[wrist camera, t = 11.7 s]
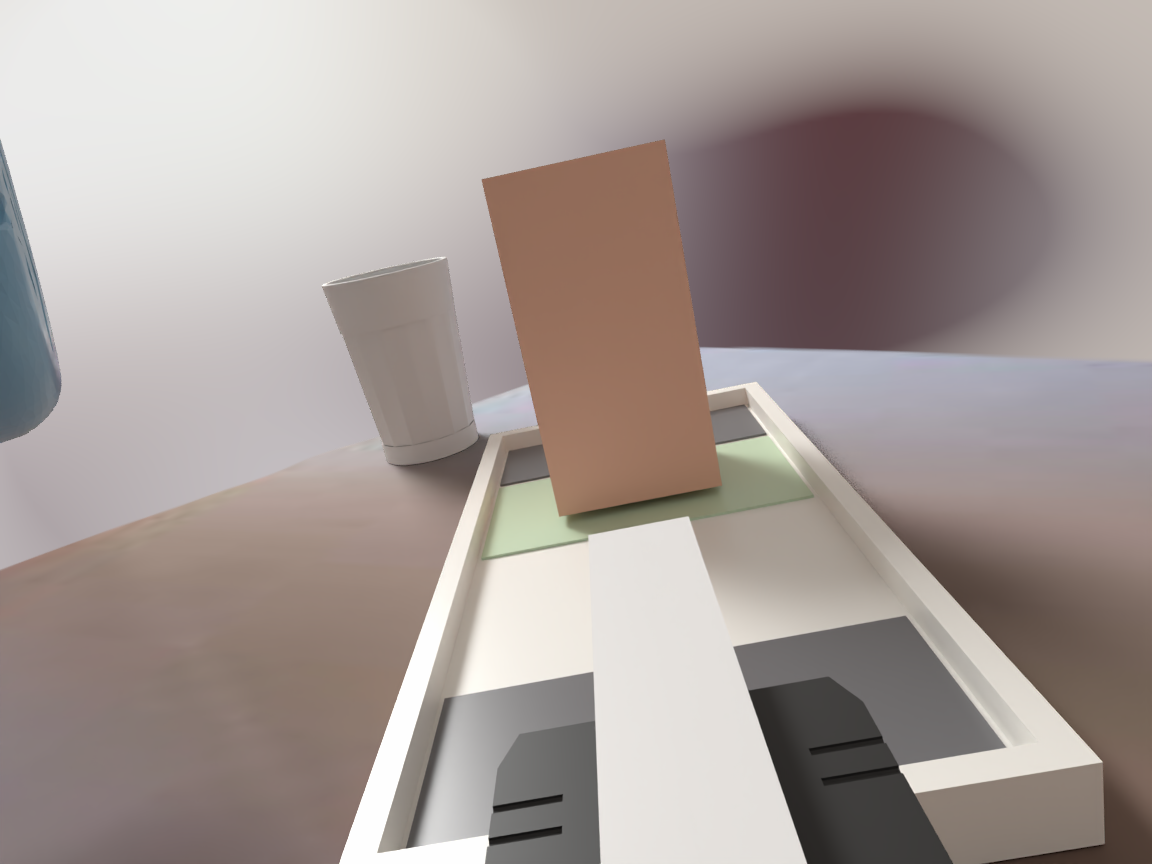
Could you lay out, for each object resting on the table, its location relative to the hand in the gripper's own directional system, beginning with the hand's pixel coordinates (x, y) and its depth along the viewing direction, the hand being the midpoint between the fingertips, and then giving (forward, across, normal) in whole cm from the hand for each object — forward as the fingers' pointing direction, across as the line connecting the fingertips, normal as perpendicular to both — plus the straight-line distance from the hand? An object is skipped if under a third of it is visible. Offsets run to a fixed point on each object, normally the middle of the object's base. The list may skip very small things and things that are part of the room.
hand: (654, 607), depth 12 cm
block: (+24, 0, -7) cm, 25 cm away
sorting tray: (+18, 0, -8) cm, 20 cm away
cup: (+41, -13, -9) cm, 44 cm away
